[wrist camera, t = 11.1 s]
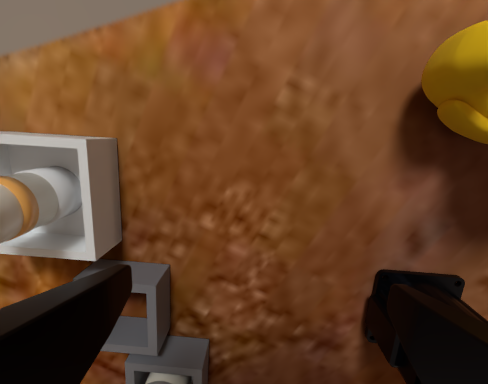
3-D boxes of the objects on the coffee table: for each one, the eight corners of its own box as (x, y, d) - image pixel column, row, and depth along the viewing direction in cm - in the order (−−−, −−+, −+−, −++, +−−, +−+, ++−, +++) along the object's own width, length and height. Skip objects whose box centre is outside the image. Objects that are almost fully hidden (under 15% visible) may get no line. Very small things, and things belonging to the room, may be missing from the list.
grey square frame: (169, 264, 21) (155, 285, 18) (170, 327, 22) (157, 356, 20) (98, 258, 21) (72, 278, 18) (102, 321, 23) (80, 348, 20)
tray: (116, 138, 19) (85, 139, 16) (122, 240, 21) (95, 261, 17) (10, 131, 19) (-43, 131, 16) (25, 232, 21) (-20, 251, 18)
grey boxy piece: (209, 339, 23) (202, 369, 20) (207, 393, 24) (200, 429, 21) (141, 333, 23) (124, 362, 20) (143, 387, 24) (128, 422, 21)
